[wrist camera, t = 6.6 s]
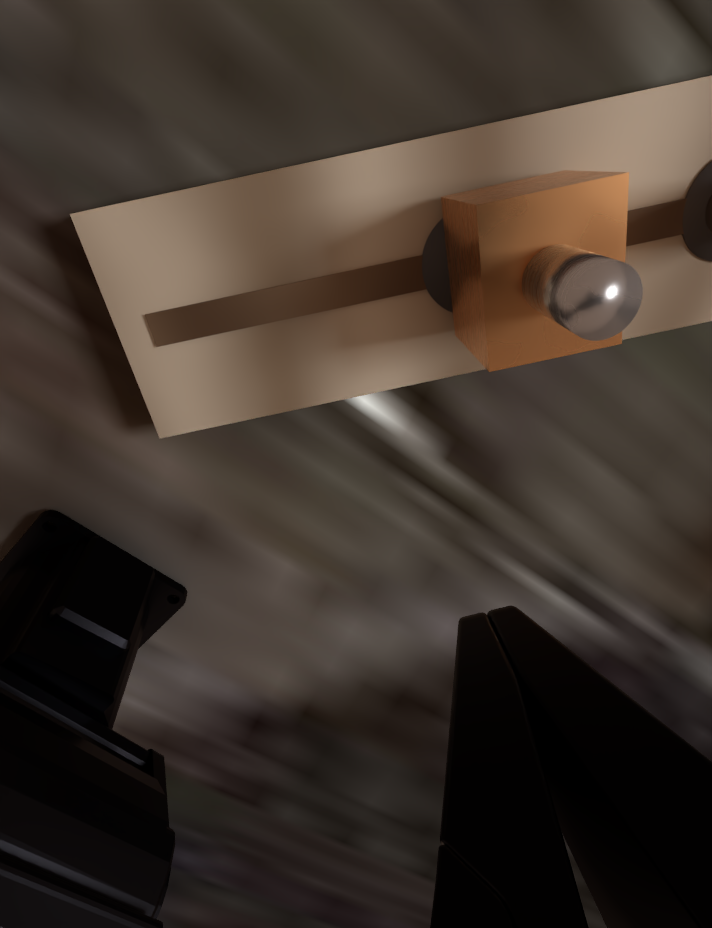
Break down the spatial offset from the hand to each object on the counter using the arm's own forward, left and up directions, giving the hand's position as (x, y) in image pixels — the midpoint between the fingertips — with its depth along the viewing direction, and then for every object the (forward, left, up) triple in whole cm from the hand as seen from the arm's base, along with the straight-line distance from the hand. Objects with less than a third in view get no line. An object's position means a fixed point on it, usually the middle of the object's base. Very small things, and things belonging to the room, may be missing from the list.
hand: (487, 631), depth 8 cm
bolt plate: (+4, +1, -13) cm, 14 cm away
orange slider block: (+5, 0, -11) cm, 12 cm away
